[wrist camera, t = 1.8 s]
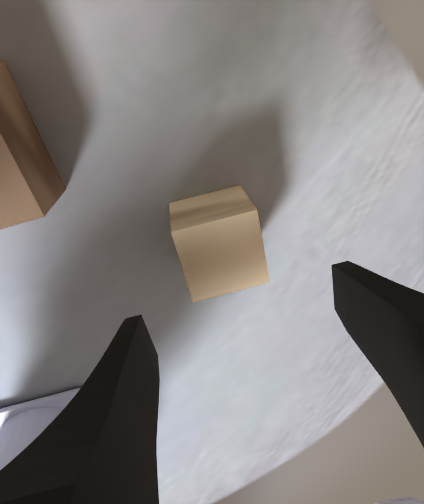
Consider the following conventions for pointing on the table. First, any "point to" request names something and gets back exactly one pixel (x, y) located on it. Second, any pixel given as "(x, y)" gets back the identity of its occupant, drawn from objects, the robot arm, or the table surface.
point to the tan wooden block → (23, 161)
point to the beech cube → (218, 242)
